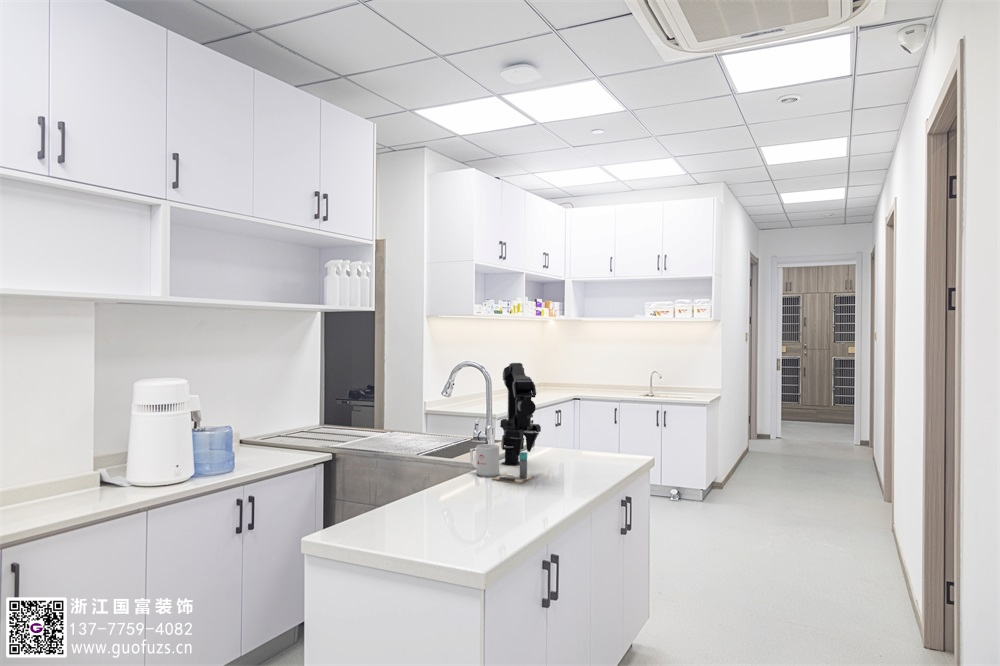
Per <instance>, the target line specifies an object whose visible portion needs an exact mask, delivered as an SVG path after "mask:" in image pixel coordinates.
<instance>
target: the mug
mask: <svg viewBox="0 0 1000 666" xmlns="http://www.w3.org/2000/svg"><path fill="white" fill-rule="evenodd" d="M474 450H475V454H476V455H475V458H476V459H475V460H476V461H475V462H474V455H473V454H474ZM469 453H470V463H471V465H472V466H473V467H474V468H475V471H476V474H477V476H479V477H482V478H495V477H496V476H498V474H499V473H500V445H498V444H493V443H492V444H491V443H485V444H478V445H476V447H475V448H474V447H473V448H470V449H469Z"/></svg>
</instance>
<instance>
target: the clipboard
mask: <svg viewBox="0 0 1000 666" xmlns="http://www.w3.org/2000/svg"><path fill="white" fill-rule="evenodd" d="M534 478H535V477H534V476H529V475H527V478H526V479H520V474H514V473H513V474H512V473H504V474H502V475H498V476H497V477H496V476H495V477H493V478H492V479H491V481H495V482H503V483H509V484H510V483H511V484H512V483H513V484H518V485H519V484H520V485H521V484H523V483H526V482H528V481H530V480H533V479H534Z"/></svg>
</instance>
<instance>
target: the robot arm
mask: <svg viewBox="0 0 1000 666" xmlns="http://www.w3.org/2000/svg"><path fill="white" fill-rule="evenodd" d="M502 381H503V383H504V386H505V388H506V389H507V418H503V419H501V420H500V423H499V424H500V425H499V427H500V428H501V429H502V430H503V435H501V443H500V447H501V450H502V451H504V461H503V462H501V464H502V465H509V466H518V465H520V460H519V454H520V452H521V451H522V450H523V449H524V443H525V445H526V452H527V453H528V452H529V453H530V452H531V450H532V448H533V447H534V444H535V442H536V439H537V438H538V436H539V435H540V432H542V431H541V430H542V429H541V428H542V427H541V425H540V424H538V423H531V422H532V421H531V420H532V418H534V415H533V414H534V413H535V412H536V404H535V402H534V400H532V398H536V395H537V389H536V385H535V383H534V382H535V381H533V380H532V378H531V377H530V376H527V375H526V373H525V368H524V367H523V363H521V362H511V363H509V365H508V366H505V367H504V368H503V371H502Z"/></svg>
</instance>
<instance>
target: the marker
mask: <svg viewBox="0 0 1000 666" xmlns="http://www.w3.org/2000/svg"><path fill="white" fill-rule="evenodd" d="M519 461H520V464H519V475H520V479H526V478H527V476H528V452H527V451H526V452H525V451H522V452H521V451H520V454H519Z"/></svg>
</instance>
